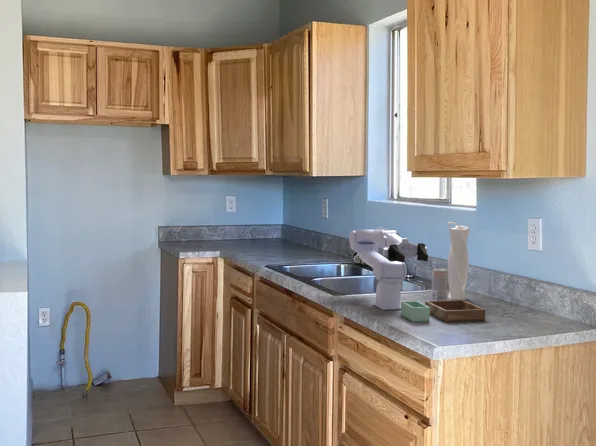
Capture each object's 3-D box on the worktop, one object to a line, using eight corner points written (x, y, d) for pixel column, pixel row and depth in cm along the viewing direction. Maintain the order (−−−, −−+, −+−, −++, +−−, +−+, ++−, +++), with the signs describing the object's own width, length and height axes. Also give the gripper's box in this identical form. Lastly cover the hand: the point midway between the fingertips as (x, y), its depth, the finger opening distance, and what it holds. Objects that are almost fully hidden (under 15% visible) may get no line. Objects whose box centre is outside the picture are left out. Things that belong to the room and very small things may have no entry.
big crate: (425, 311, 227) (425, 301, 227) (462, 310, 230) (462, 299, 230) (445, 322, 212) (445, 311, 212) (484, 320, 215) (485, 309, 215)
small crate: (400, 315, 221) (400, 301, 221) (416, 314, 222) (417, 300, 222) (412, 322, 211) (413, 307, 211) (429, 321, 213) (429, 307, 212)
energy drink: (444, 301, 244) (445, 268, 243) (448, 304, 239) (449, 270, 238) (429, 301, 244) (430, 268, 243) (433, 304, 238) (434, 270, 237)
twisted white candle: (447, 300, 247) (450, 222, 244) (443, 296, 254) (445, 220, 252) (469, 300, 247) (472, 222, 244) (464, 296, 254) (467, 221, 252)
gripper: (378, 235, 222) (394, 247, 209) (420, 234, 225) (438, 245, 213) (377, 256, 224) (392, 269, 211) (418, 254, 227) (436, 267, 214)
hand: (415, 258), depth 212 cm, fingers open, 7 cm apart
